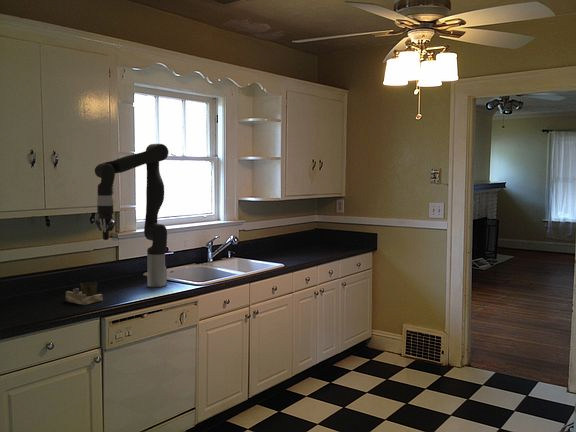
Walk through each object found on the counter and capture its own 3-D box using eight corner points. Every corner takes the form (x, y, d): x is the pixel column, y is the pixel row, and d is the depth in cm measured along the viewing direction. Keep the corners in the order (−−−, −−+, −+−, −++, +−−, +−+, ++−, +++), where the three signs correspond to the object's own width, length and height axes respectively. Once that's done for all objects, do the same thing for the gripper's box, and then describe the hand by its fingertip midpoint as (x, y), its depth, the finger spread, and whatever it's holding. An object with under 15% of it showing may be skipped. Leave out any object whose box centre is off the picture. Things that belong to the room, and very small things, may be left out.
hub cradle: (84, 297, 270) (84, 283, 269) (102, 300, 263) (102, 286, 262) (65, 301, 260) (64, 287, 260) (83, 305, 253) (83, 290, 253)
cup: (91, 297, 269) (90, 281, 268) (100, 299, 265) (100, 282, 264) (77, 300, 263) (77, 283, 262) (87, 302, 259) (86, 285, 258)
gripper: (120, 204, 274) (121, 239, 275) (102, 203, 281) (103, 238, 282) (108, 205, 267) (108, 241, 269) (90, 204, 274) (90, 239, 276)
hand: (105, 239), depth 275 cm, fingers closed
